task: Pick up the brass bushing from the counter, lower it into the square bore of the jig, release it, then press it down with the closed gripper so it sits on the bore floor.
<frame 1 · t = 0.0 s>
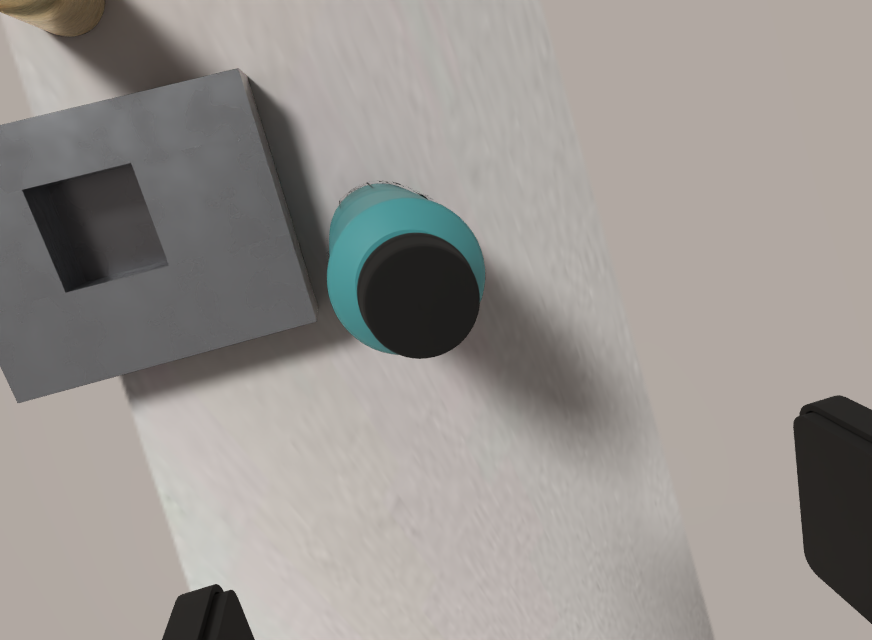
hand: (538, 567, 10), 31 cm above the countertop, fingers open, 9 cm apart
jig: (142, 233, 37), on the countertop
beverage bottle: (380, 231, 40), on the countertop
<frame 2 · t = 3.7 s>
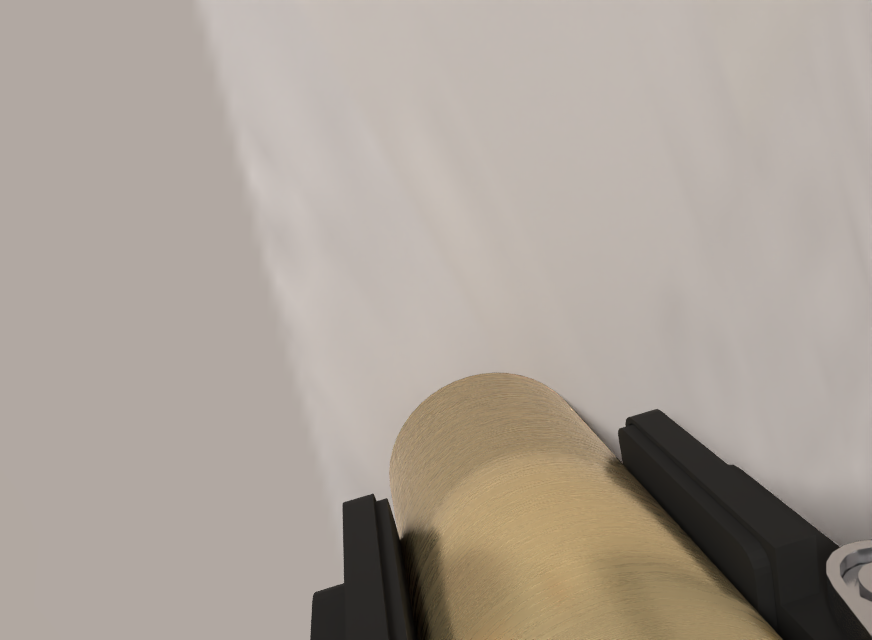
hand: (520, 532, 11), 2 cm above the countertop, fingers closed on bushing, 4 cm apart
bushing: (489, 467, 13), on the countertop, touching gripper
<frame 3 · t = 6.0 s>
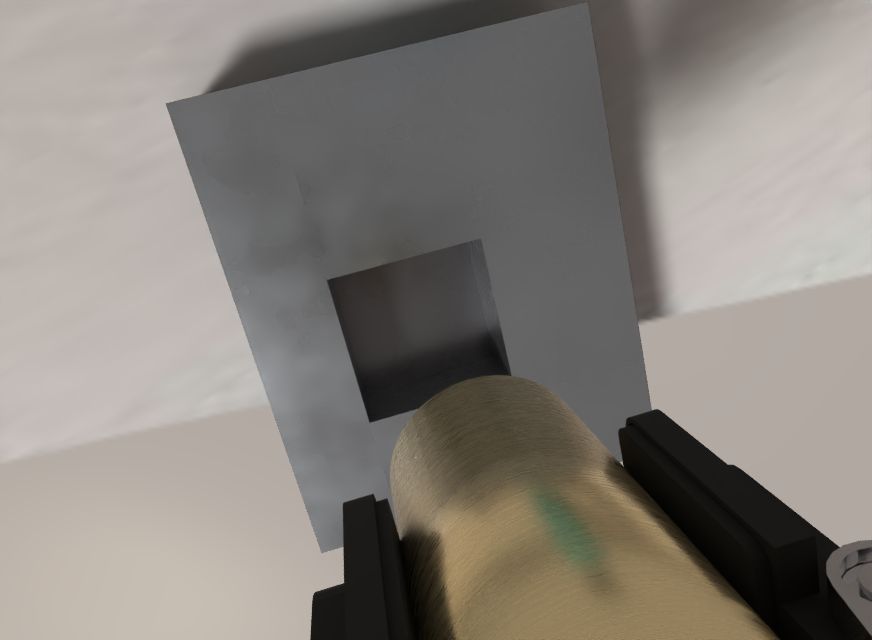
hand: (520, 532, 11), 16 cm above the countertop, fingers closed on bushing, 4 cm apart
bushing: (490, 470, 13), point 14 cm above the countertop, touching gripper
jig: (430, 280, 26), on the countertop
when the fingers open (4 cm above the countertop, at t = 8.4 s): bushing drops 1 cm, resting on jig.
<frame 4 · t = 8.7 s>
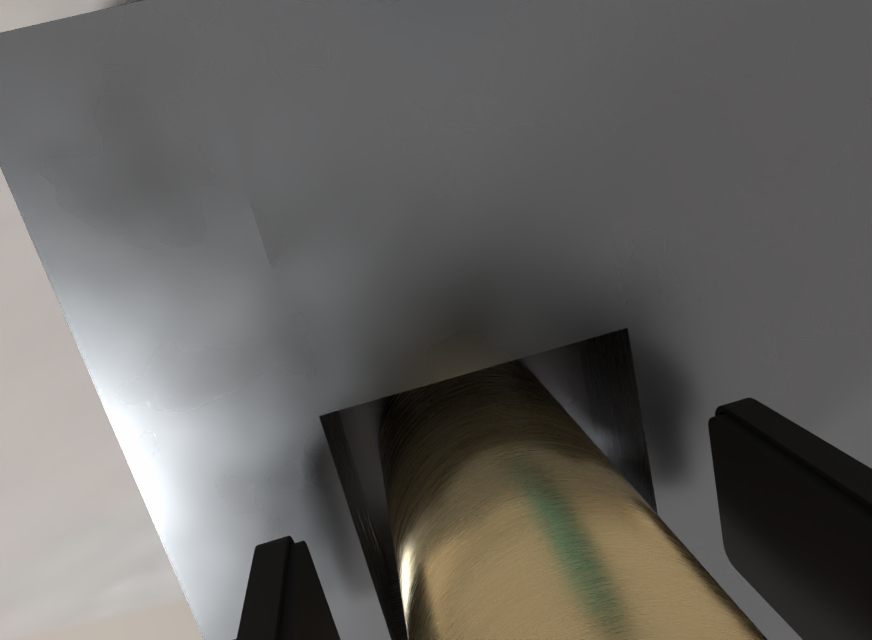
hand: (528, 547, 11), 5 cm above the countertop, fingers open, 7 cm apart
bushing: (470, 439, 15), point 1 cm above the countertop, touching jig
jig: (502, 379, 15), on the countertop
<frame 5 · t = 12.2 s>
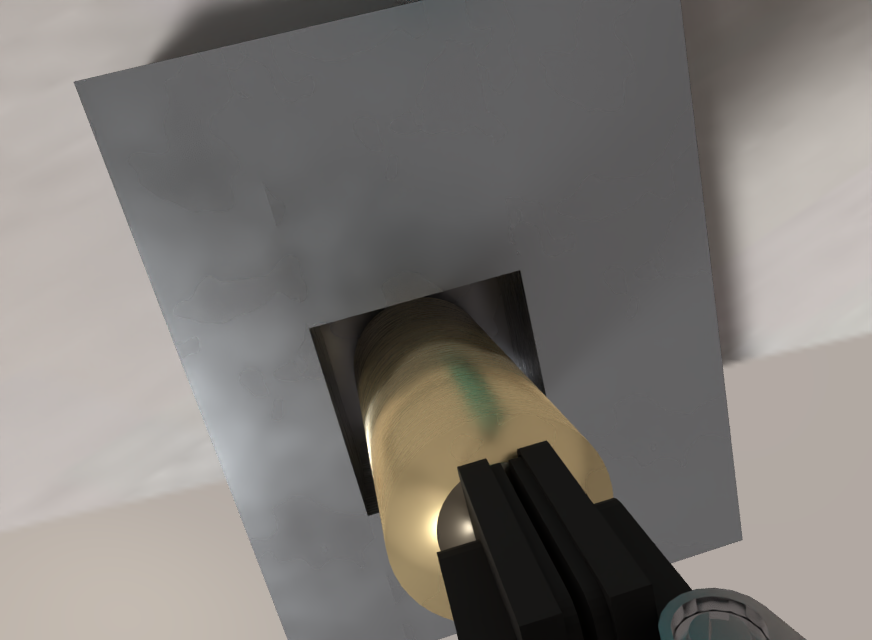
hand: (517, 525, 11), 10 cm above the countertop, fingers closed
bushing: (421, 362, 20), point 1 cm above the countertop, touching gripper, jig
jig: (445, 318, 20), on the countertop
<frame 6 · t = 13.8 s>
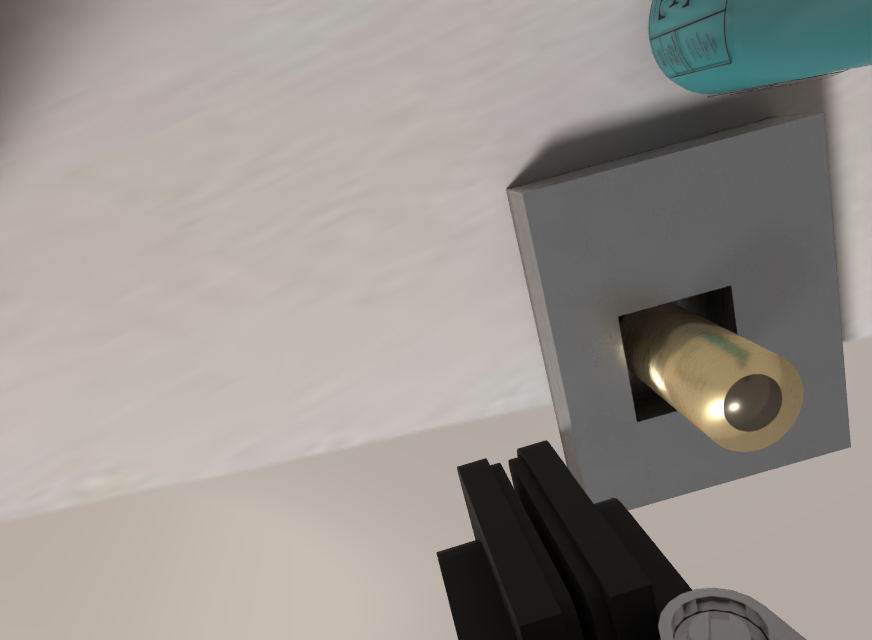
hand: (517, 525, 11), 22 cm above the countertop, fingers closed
bushing: (654, 338, 34), point 1 cm above the countertop, touching jig
jig: (667, 312, 34), on the countertop
beverage bottle: (691, 29, 31), on the countertop
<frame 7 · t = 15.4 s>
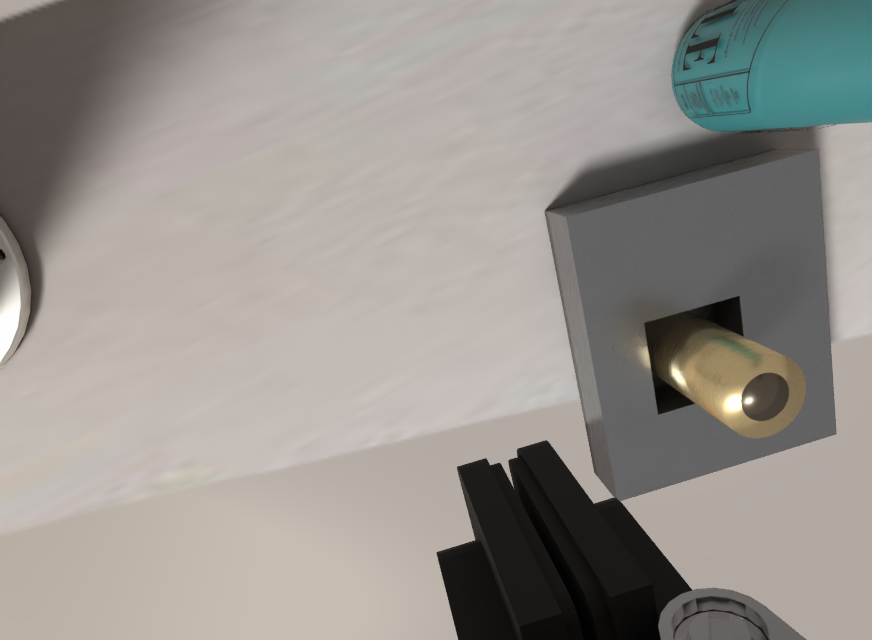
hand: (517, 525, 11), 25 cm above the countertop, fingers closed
bushing: (669, 341, 38), point 1 cm above the countertop, touching jig
jig: (680, 318, 39), on the countertop
beverage bottle: (705, 74, 35), on the countertop
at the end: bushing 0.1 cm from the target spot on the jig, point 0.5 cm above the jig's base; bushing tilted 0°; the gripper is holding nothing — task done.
